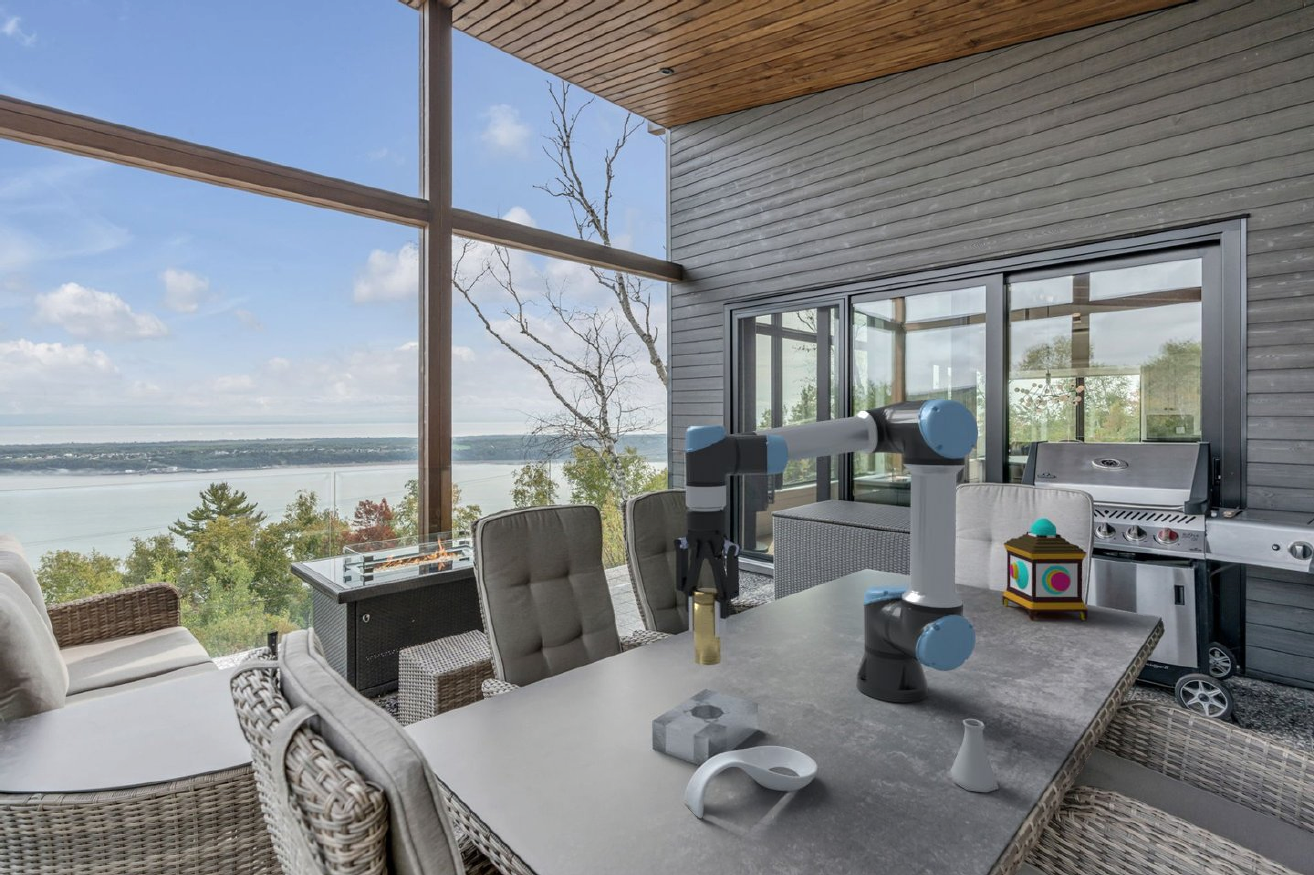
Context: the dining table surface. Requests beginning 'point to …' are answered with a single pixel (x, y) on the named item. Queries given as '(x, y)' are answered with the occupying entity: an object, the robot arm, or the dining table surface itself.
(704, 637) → the gold capped cylinder
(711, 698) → the bore housing
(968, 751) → the flask
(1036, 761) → the dining table surface
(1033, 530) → the decorative lantern
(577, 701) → the dining table surface
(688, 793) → the spoon rest
